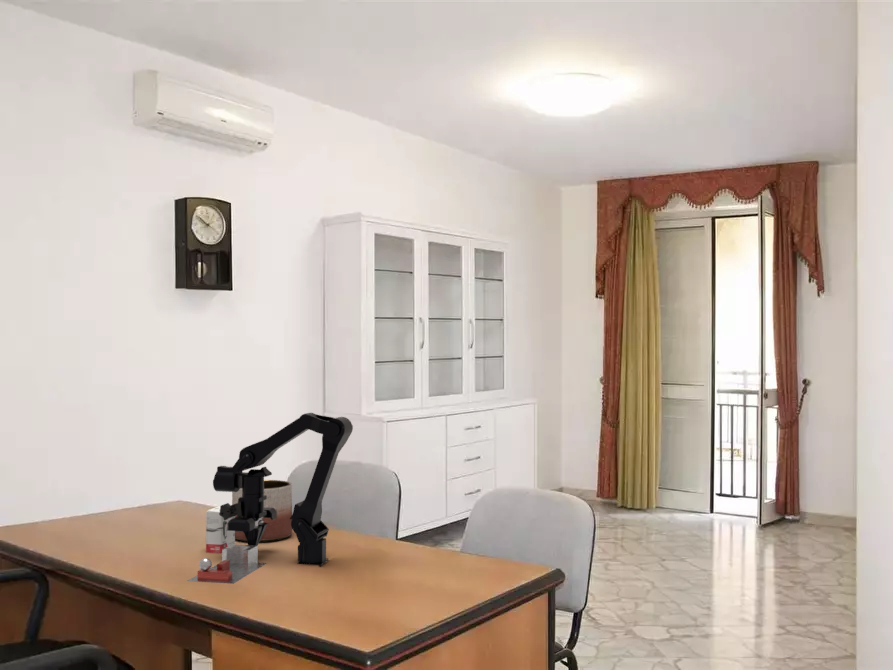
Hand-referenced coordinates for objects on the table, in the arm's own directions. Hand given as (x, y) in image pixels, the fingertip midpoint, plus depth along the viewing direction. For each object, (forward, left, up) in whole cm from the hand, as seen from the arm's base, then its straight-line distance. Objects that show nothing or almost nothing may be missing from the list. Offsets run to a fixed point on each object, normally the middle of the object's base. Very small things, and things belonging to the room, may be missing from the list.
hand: (252, 551), depth 226 cm
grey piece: (0, +14, -2) cm, 14 cm away
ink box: (+13, -8, -2) cm, 15 cm away
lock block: (0, +8, -2) cm, 8 cm away
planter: (+9, -27, -2) cm, 28 cm away
